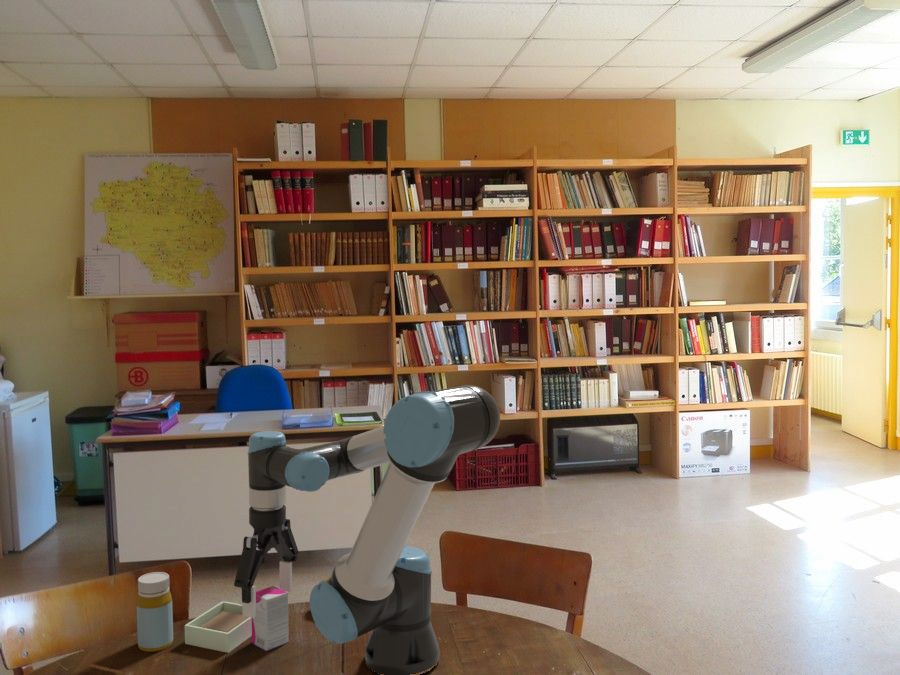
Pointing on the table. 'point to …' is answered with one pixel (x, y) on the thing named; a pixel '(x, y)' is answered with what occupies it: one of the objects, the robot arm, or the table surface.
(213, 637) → the box
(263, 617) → the supplement box
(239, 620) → the walnut block
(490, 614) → the table surface
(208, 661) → the table surface
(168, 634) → the bottle
